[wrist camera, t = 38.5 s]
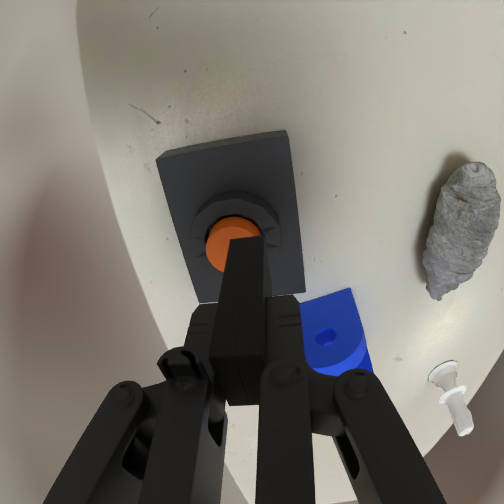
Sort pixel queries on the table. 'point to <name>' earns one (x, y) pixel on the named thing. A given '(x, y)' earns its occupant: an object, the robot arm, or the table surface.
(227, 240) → the switch
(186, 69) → the table surface
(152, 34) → the table surface
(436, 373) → the candle
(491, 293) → the table surface
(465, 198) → the grey ridged oval piece
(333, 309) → the bracket
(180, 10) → the table surface
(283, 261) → the push button base
